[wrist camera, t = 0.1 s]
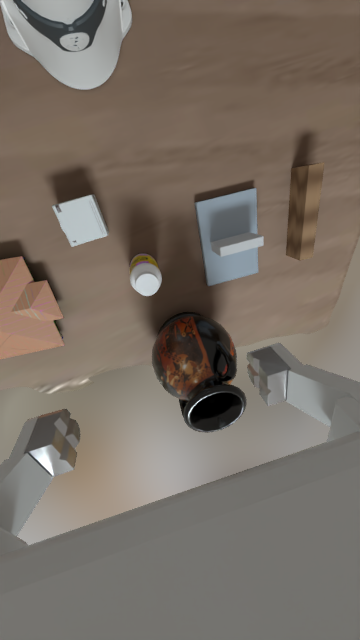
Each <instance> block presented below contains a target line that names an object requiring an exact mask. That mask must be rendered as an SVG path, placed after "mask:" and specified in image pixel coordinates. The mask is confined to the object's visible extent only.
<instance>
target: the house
mask: <svg viewBox="0 0 360 640" xmlns="http://www.w3.org/2000/svg"><path fill="white" fill-rule="evenodd" d="M24 259H25V258H23V257H22V256H20V257H14V258H8V259H2V260H0V359H4V358H8V357H13V356H18V355H22V354H27V353H31V352H36V351H41V350H45V349H50V348H54V347H59V346H64V345H65V344H64V342H63V340H62V338H63V337H62V338H61V336H60V333H59V332H58V331H59V330H58V329H57V328H58V327H56V325H55V322H54V321H53V320H58V319H62V318H64V317H63V315H62V313H61V310H60V308H59V306H58V304H57V301H56V299H55V297H54V295H53V293H52V290H51V288H50V286H49V284H48V282H47V280H43V281H39V282H34V279H35V278H34V279H33V278H32V276H33V275H32V276H31V274H30V272H29V269H28V267H27V265H28V264H27V265H26V263H25V262H26V261H24ZM31 272H32V271H31ZM61 335H62V334H61Z"/></svg>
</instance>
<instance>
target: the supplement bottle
mask: <svg viewBox="0 0 360 640" xmlns="http://www.w3.org/2000/svg"><path fill="white" fill-rule="evenodd" d="M130 282H131V285H132V287H133V288H134V289H135V290H136V291H137V292H139V293H140V294H141V295H144V296H151V295H153V294H155V293H156V292H157V290H158V288H159V287H160V285H161V282H162V275H161V272H160V270H159V267H158V265H157V262H156V261H155V259H154V258H153V257H152V256H150V255H148V254H139V255H136V256H135V257H134V258H133V259H132V261H131V263H130Z"/></svg>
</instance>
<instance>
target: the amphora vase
mask: <svg viewBox="0 0 360 640" xmlns="http://www.w3.org/2000/svg"><path fill="white" fill-rule="evenodd" d="M152 364H153V368H154V372H155V374H156V376H157V379H158V380H159V382H160V383H161V384H162V386H163V387H164V389H165V390H166V391H168V393H170V394H172V395H173V396H175V397H177V398H179V402H180V407H181V411H182V415H183V417H184V421H185V423H186V424H187V425H188V426H189V427H190V428H192V429H193V430H195V431H199V432H214V431H218V430H222V429H224V428H226V427H228V426H230V425H231V424H233V423H234V422H236V421H237V420H238V419H239V418H240V417H241V415H242V414H243V412H244V410H245V407H246V397H245V394H244V392H243V391H241V390H240V389H239V388H238V387H236V386H234V385H230V384H231V382H232V381H233V379H234V377H235V376H236V372H237V368H236V367H237V356H236V349H235V347H234V344H233V342H232V339H231V337H230V335H229V334H228V333H227V331H226V330H225V329H224V328H223V327H222V326H221V324H219V323H217V322H216V321H214V320H212V319H210V318H206V317H203V316H202V315H200V314H197V313H193V312H184V313H180V314H177V315H175V316H173V317H171V318H170V319H168V320H167V321H166V322H165V323H164V324H163V326H162V327H161V329H160V331H159V334H158V337H157V339H156V341H155V344H154V346H153V349H152Z"/></svg>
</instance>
